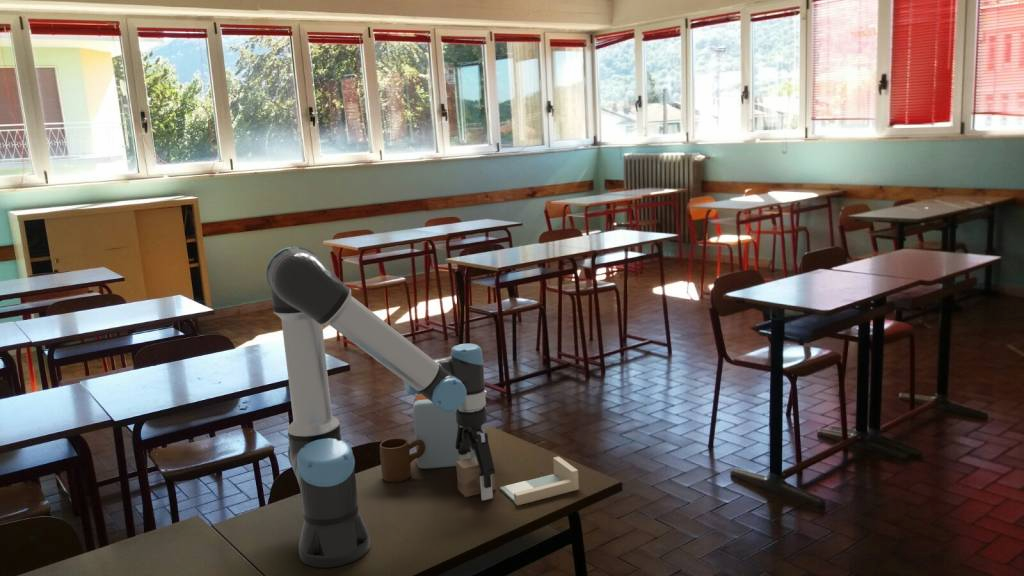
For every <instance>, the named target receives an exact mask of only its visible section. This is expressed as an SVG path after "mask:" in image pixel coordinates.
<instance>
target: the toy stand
mask: <svg viewBox="0 0 1024 576" xmlns="http://www.w3.org/2000/svg"><path fill="white" fill-rule="evenodd" d="M552 462H553V474H548V475H545V476H540V477H536V478H533V479H528V480H523V481H519V482H516V483H511V484H507V485H504V486H500V487H499V490H500V491H501V492H502V493H503V494H504V495H505V496H507V498H509V499H510V500H511V501H512V502H513V503H514V505H516V506H521V505H523V504H528V503H533V502H536V501H540V500H543V499H548V498H552V497H555V496H560V495H562V494H567V493H569V492H574V491H578V490H580V489H579V487H580V486H579V470H578V469H577V468H575V467H574V466H572V465H571V464H570V463H568V462H567V461H566V460H564V459H563V458H562V457H560V456H555V457H553V459H552Z"/></svg>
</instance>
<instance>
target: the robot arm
mask: <svg viewBox="0 0 1024 576" xmlns="http://www.w3.org/2000/svg"><path fill="white" fill-rule="evenodd" d="M265 274H266V277H265V278H266V280H267V281H266V282H267V283H268V285H269V288H270V297H271V304H272V312H273V314H274V315H276V316H278V317H279V318H280V321H281V327H282V337H283V345H284V346H283V347H284V353H285V360H286V361H285V363H286V369H287V380H288V387H289V395H290V404H291V410H292V411H291V412H292V420H293V421H292V422H291V423H290V424H289V425H288V427H287V438H288V448H287V450H288V451H287V456H288V461H289V465H290V467H291V468H292V470H293V473H294V475H295V477H296V479H297V483H298V485H299V489H300V490H299V492H300V497H301V505H302V506H301V507H302V515H303V525H302V529H301V533H300V538H299V542H298V553H299V558H300V561H301V562H302V563H303V564H305V565H307V566H310V567H313V568H324V569H325V568H327V569H328V568H334V567H335V568H336V567H340V566H344V565H347V564H350V563H354V562H355V561H357V560H359V559H361V558H362V557H363V556H365V555H366V554H367V553H368V551H369V550H370V548H371V537H370V532H369V530H368V528H367V526H366V524H365V521H364V520H363V517H362V516H361V513H360V510H359V500H358V489H357V480H356V470H355V463H356V460H355V456H354V454H353V449H352V447H351V446H350V445H349V444H348V443H347V442H345V441H344V440H342V432H341V423H340V420H339V419H338V418H337V417H336V416H334V415H333V412H332V404H331V403H332V402H331V394H330V386H329V385H330V384H329V376H328V374H329V373H328V368H327V367H328V366H327V357H326V349H325V347H326V346H325V339H324V331H323V330H324V329H323V328H324V327H323V326H326V325H328V326H330V327H332V328H333V329H334V330H336V331H337V332H338V333H339V334H341V335H342V336H344V337H345V338H346V339H348V340H349V341H350V342H352V343H353V344H354V345H356V346H357V347H358V348H360V349H361V350H363V352H365V353H366V354H368V355H369V356H371V357H372V358H373V359H374V360H375V361H377V362H378V363H380V364H381V365H382V366H384V367H385V368H386V369H387V370H389V371H391V372H392V373H393V374H395V375H396V376H397V377H399V379H401V380H402V381H403V386H404V388H405V391H406V393H407V394H408V395H411V396H412V395H413V396H414V395H419V394H422V395H423V396H425V397H426V398H427V399H429V400H430V401H431V402H433V403H434V405H435V406H436V407H438V408H439V409H441V410H443V411H446V412H452V411H455V410H456V422H457V424H458V431H457V439H456V449H459V450H458V453H459V454H460V460H465V459H469V458H471V454H470V453H467V452H471V449H472V450H474V452H475V455H476V458H477V461H478V465H479V468H480V471H481V473H480V474H479V476H480V486H481V493H480V497H481V498H480V499H481V501H482V502H483V501H487V500H490V499H493V498H494V494H493V490H492V477H491V475H492V474H494V475H496V469H495V465H494V464H493V461H494V460H493V457H492V452H491V448H490V445H489V437H488V435H489V434H488V433H487V432H485V433H483V431H482V429H481V426H482V425H483V424H484V425H485V424H486V422H487V420H488V414H487V413H488V411H487V407H486V405H487V401H486V400H487V399H486V395H487V390H486V386H485V370H484V367H485V365H484V364H485V363H484V362H485V361H484V358H483V357H484V356H483V352H482V351H483V350H482V348H481V347H480V345H478V344H475V343H460V344H458V345H454V346H452V347H451V350H450V355H449V356H444V357H438V358H431V357H430V356H429V355H428V354H427V353H425V352H424V351H423V350H421V349H420V348H419V347H418V346H416V345H415V344H414V343H412V342H411V340H408V339H407V338H406V337H405V336H404V335H402V334H401V333H400V332H398V331H397V330H395V328H393V327H392V326H391V325H389V324H388V323H387V322H386V321H384V320H383V319H382V318H381V317H379V316H378V315H376V314H375V312H373V311H371V310H370V308H368V307H366V306H365V305H364V304H363V303H361V302H360V301H359V300H357V298H355V297H353V296H352V289H351V288H350V287H349V286H347V285H346V284H345V283H344V282H343V281H341V280H340V278H339V277H338V276H337V275H335V273H334V272H333V271H332V270H331V269H330V268H329V267H328V266H327V265H326V263H325V262H324V261H323V260H322V259H321V258H319V257H318V256H317V255H316V254H315V253H314V252H313V251H311V250H310V249H308V248H305V247H301V246H300V247H299V246H291V247H290V246H289V247H285V248H282V249H280V250H279V251H277V252H276V253H275V254H274V255H273V256H272V257H271V258H270V260H269V262H268V265H267V267H266V273H265ZM460 443H461V444H460ZM470 447H471V449H470Z"/></svg>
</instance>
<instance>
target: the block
mask: <svg viewBox="0 0 1024 576" xmlns="http://www.w3.org/2000/svg"><path fill="white" fill-rule="evenodd" d="M494 463H495V462H494V460H493V464H494ZM455 467H456V478H457V480H456V481H457V490H458V491H459V492H460V494H462V495H463V497H464V498H466V497H467V498H468V497H471V496H475V495H481V486H480V476H479V474H480V473H481V471H480V468H479V465H478V461H477V458H476V457H473V458H469V459H465V460H460V461H456V466H455ZM491 477H492V491H496V479H495V477H496V476H495V474H492V475H491Z"/></svg>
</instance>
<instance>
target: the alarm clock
mask: <svg viewBox="0 0 1024 576" xmlns="http://www.w3.org/2000/svg"><path fill="white" fill-rule="evenodd" d="M412 412H413V413H412V415H413V422H414V423H413V426H414V436H415V438H414V440H416V439H419V440H422V441H423V442H424V444H425V451H424V453H423V455H422V456H420V457H419V458H416V460H417V461H416V462H417V465H418V468H420V469H438V468H451V467H456V461H460V454H459V453H458V450H459V449H456V439H457V431H458V424H457V422H456V410H455V411H452V412H446V411H443V410H441V409H439V408H438V407H436V406H435V405H434V403H433V402H431V401H430V400H429V399H427V398H426V397H425V396H423V395H422V394H416V395H415V397H414V401H413V406H412ZM481 429H482V431H483V433H486V426H485V423H484V424H483V425H482V426H481ZM460 444H461V443H460ZM415 447H416V448H415V449H416V451H415V452H417V451H418V450H419V445H416V446H415ZM470 449H471V447H470ZM467 453H470V454H471V458H473V457H476V455H475V452H474V450H472V449H471V452H467Z"/></svg>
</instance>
